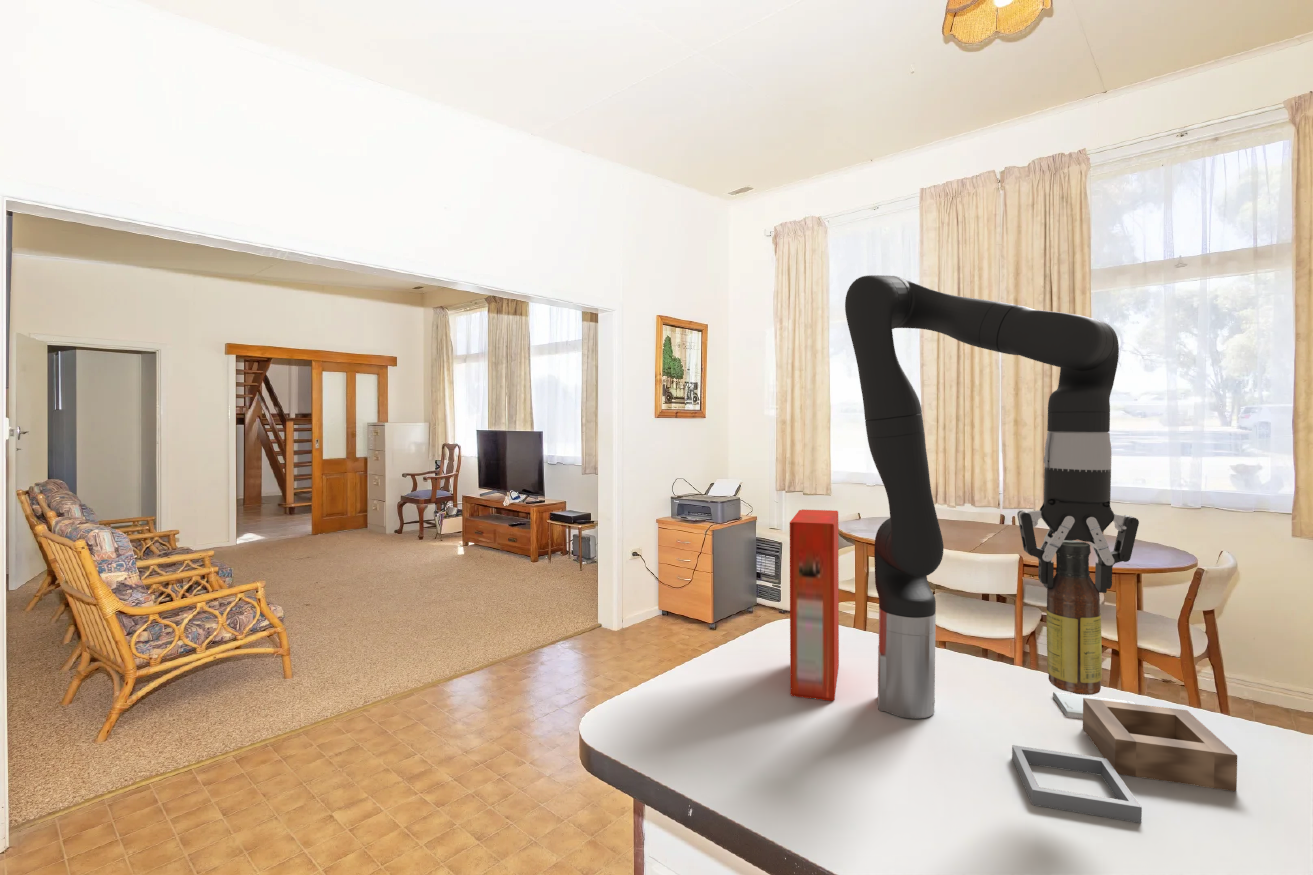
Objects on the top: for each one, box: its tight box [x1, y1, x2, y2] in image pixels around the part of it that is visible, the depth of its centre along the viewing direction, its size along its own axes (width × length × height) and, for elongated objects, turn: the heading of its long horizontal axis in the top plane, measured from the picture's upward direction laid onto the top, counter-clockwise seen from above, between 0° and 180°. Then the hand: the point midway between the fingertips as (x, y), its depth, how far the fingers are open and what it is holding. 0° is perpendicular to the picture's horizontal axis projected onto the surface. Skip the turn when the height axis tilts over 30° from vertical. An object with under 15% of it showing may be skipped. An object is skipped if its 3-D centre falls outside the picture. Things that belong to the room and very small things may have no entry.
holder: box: [1082, 698, 1238, 793], centre depth 94 cm, size 14×14×5 cm
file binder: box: [789, 509, 840, 702], centre depth 122 cm, size 8×17×32 cm, turn 161°
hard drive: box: [1052, 691, 1137, 720], centre depth 109 cm, size 2×8×12 cm
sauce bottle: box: [1046, 540, 1103, 696], centre depth 86 cm, size 7×6×20 cm
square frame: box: [1011, 744, 1143, 824], centre depth 86 cm, size 12×12×2 cm
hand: (1074, 588), depth 86 cm, fingers closed on sauce bottle, 5 cm apart
